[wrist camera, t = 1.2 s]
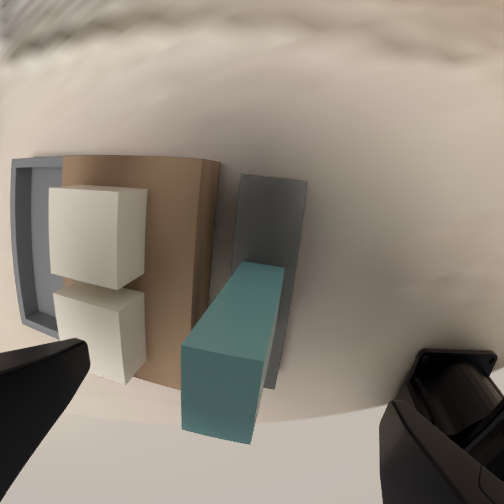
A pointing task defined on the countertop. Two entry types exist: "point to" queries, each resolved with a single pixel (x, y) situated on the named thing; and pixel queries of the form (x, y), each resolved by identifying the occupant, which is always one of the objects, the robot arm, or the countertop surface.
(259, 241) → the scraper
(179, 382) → the walnut board
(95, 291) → the tile
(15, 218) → the box
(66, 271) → the tile
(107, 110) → the countertop surface
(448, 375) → the robot arm
